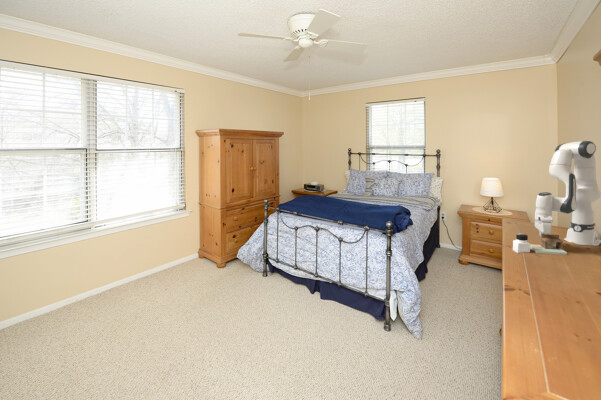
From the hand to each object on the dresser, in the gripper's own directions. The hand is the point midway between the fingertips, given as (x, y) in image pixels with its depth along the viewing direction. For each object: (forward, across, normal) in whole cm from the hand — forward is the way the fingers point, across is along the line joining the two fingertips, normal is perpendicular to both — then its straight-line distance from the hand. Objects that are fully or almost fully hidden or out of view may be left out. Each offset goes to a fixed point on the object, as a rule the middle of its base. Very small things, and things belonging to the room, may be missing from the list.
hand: (541, 236), depth 204 cm
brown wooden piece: (+6, +5, +4) cm, 9 cm away
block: (+7, +4, +4) cm, 9 cm away
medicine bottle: (+8, +12, -13) cm, 20 cm away
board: (+8, +7, +1) cm, 11 cm away
